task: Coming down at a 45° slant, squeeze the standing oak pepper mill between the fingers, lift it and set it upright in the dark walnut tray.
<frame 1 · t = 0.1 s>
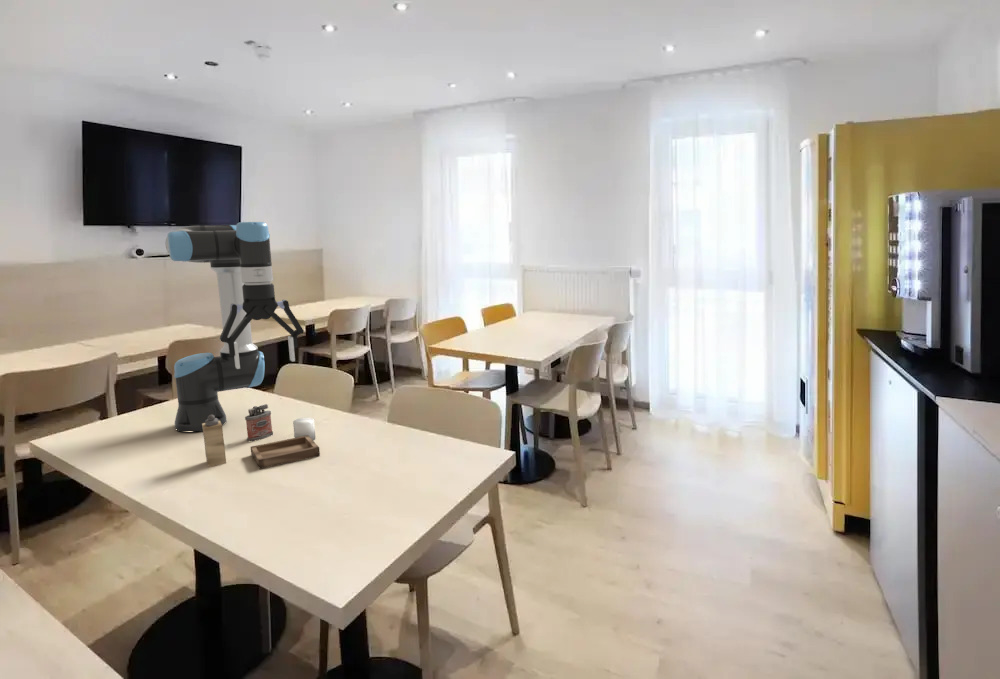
hand: (265, 364, 151), 28 cm above the table, tool pointing down, fingers open, 13 cm apart
pepper mill: (216, 462, 158), on the table
tray: (285, 455, 162), on the table
white pillar candle: (305, 439, 175), on the table
lighter: (260, 438, 177), on the table
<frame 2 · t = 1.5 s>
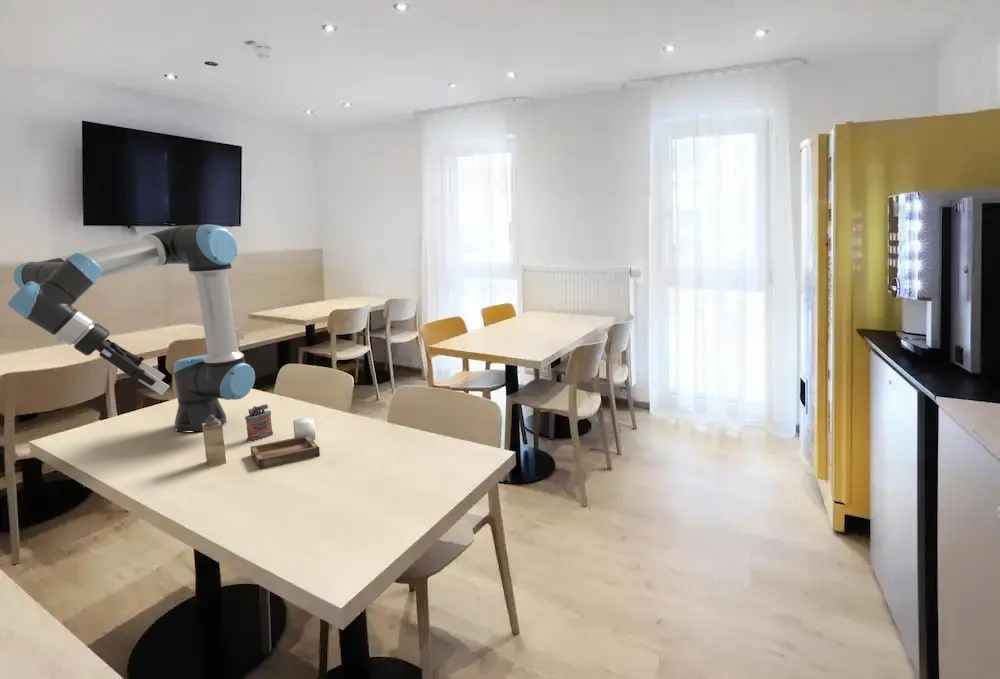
hand: (163, 385, 149), 24 cm above the table, tool tilted 45°, fingers open, 13 cm apart
nothing on the table moved.
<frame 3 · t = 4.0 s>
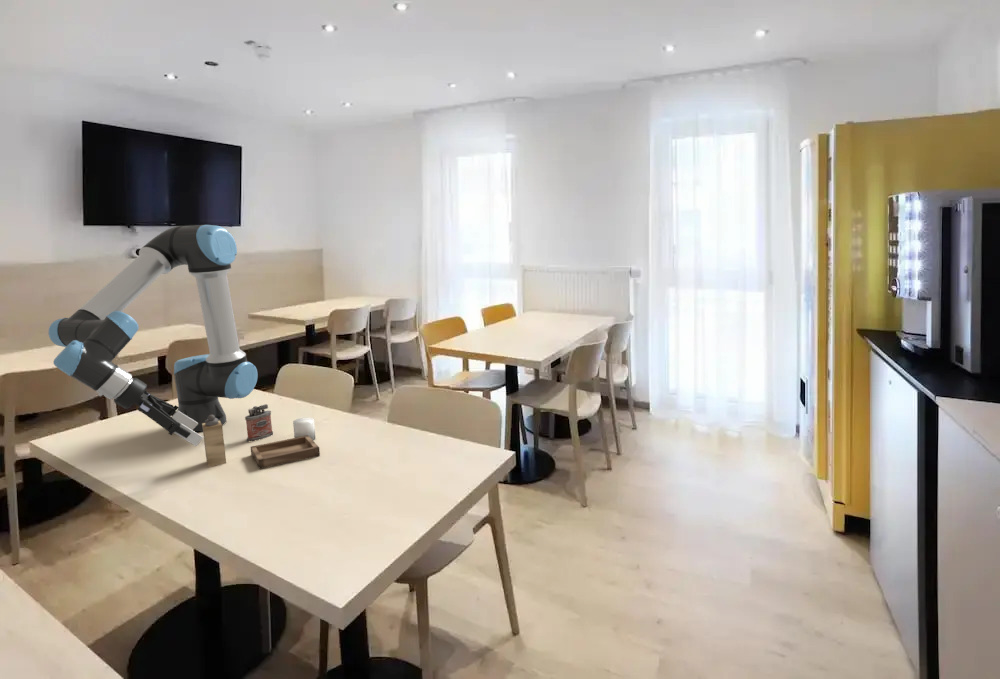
hand: (197, 434, 154), 9 cm above the table, tool tilted 45°, fingers open, 13 cm apart
nothing on the table moved.
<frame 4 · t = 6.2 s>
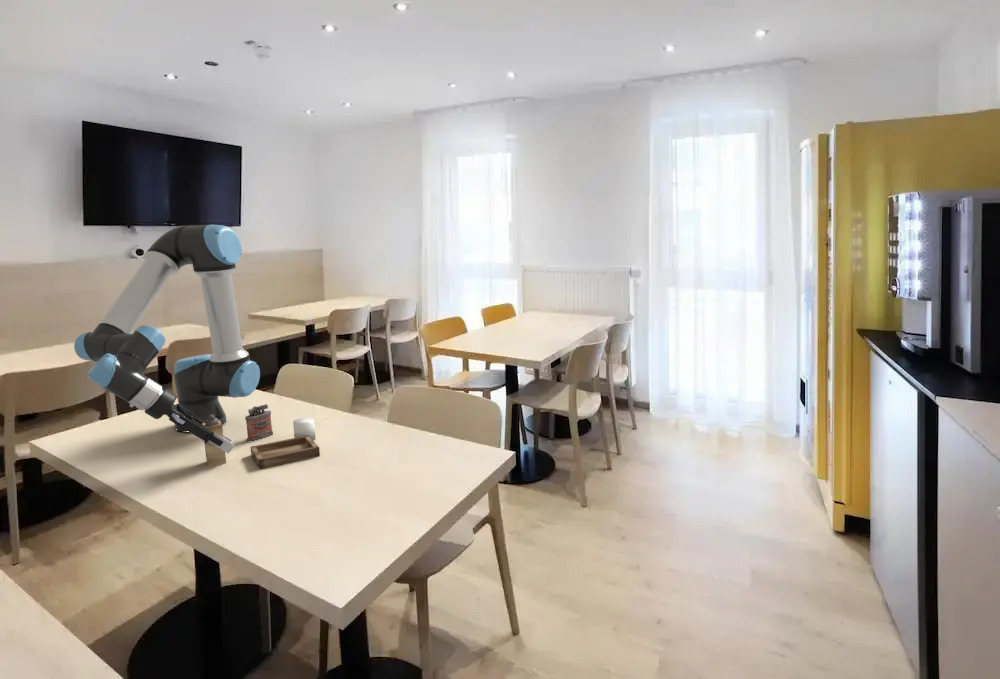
hand: (229, 446, 160), 4 cm above the table, tool tilted 45°, fingers closed on pepper mill, 4 cm apart
pepper mill: (216, 462, 158), on the table, touching gripper
everything else where it was.
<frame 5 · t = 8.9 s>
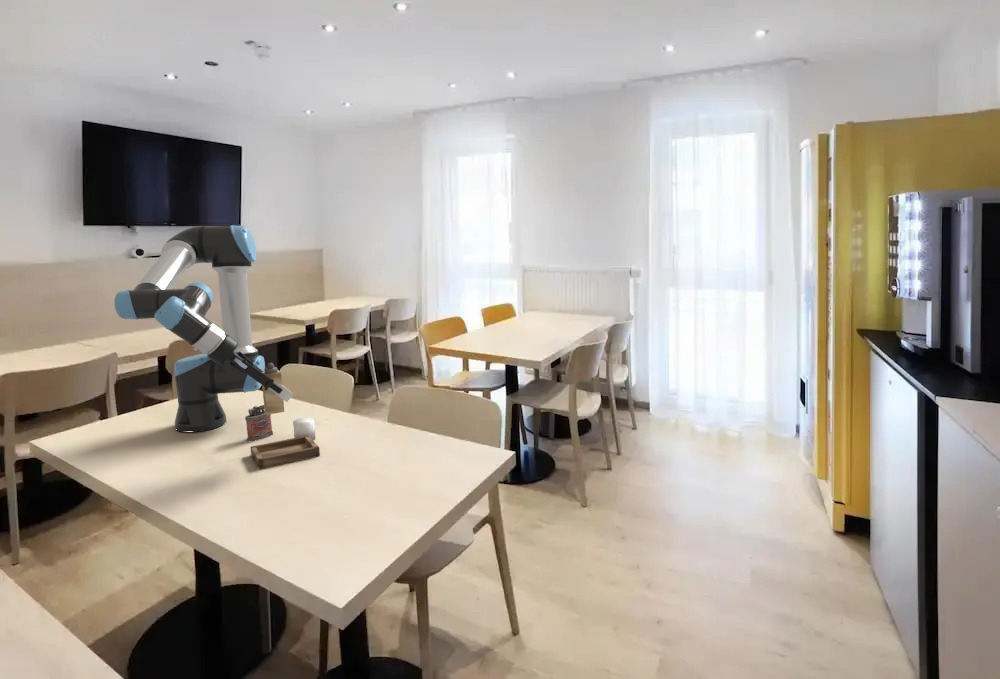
hand: (287, 395, 160), 17 cm above the table, tool tilted 45°, fingers closed on pepper mill, 4 cm apart
pepper mill: (274, 411, 159), point 13 cm above the table, touching gripper
everything else where it was.
when the fingers open (6 cm above the table, at t = 11.4 s): pepper mill drops 2 cm, resting on tray.
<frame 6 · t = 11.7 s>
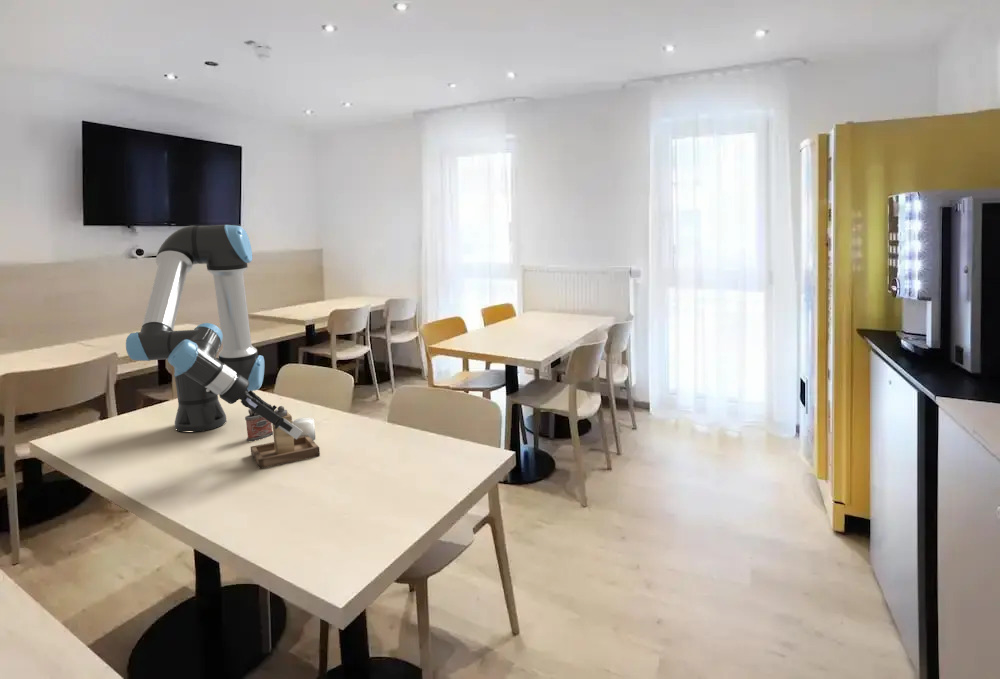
hand: (295, 430, 163), 7 cm above the table, tool tilted 45°, fingers open, 9 cm apart
pepper mill: (284, 452, 162), point 1 cm above the table, touching tray
everything else where it was.
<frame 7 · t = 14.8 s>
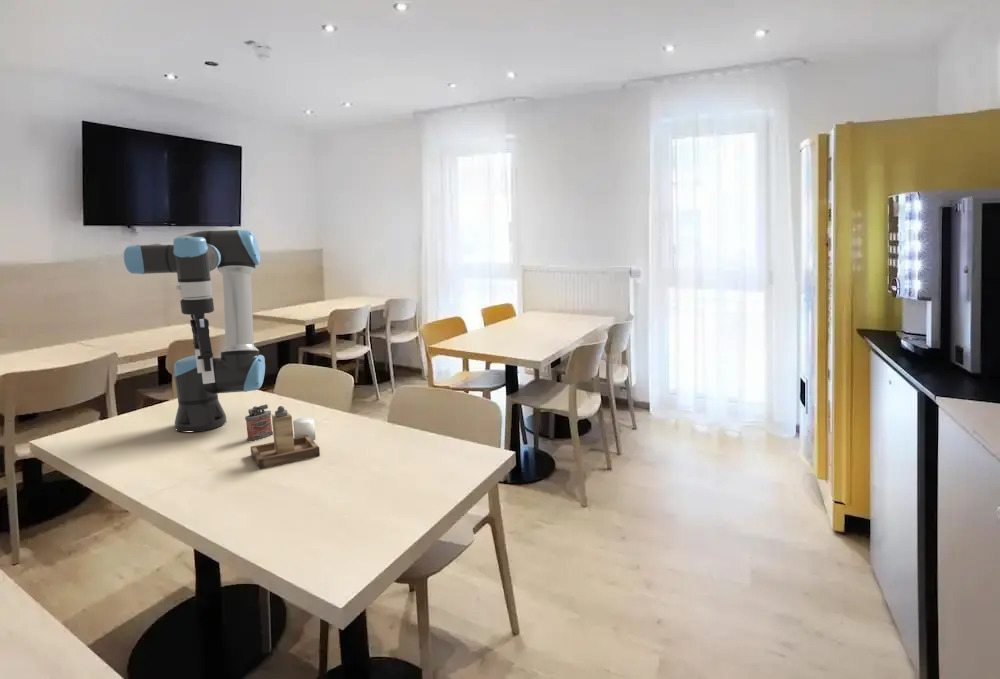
hand: (206, 377, 152), 24 cm above the table, tool pointing down, fingers open, 13 cm apart
nothing on the table moved.
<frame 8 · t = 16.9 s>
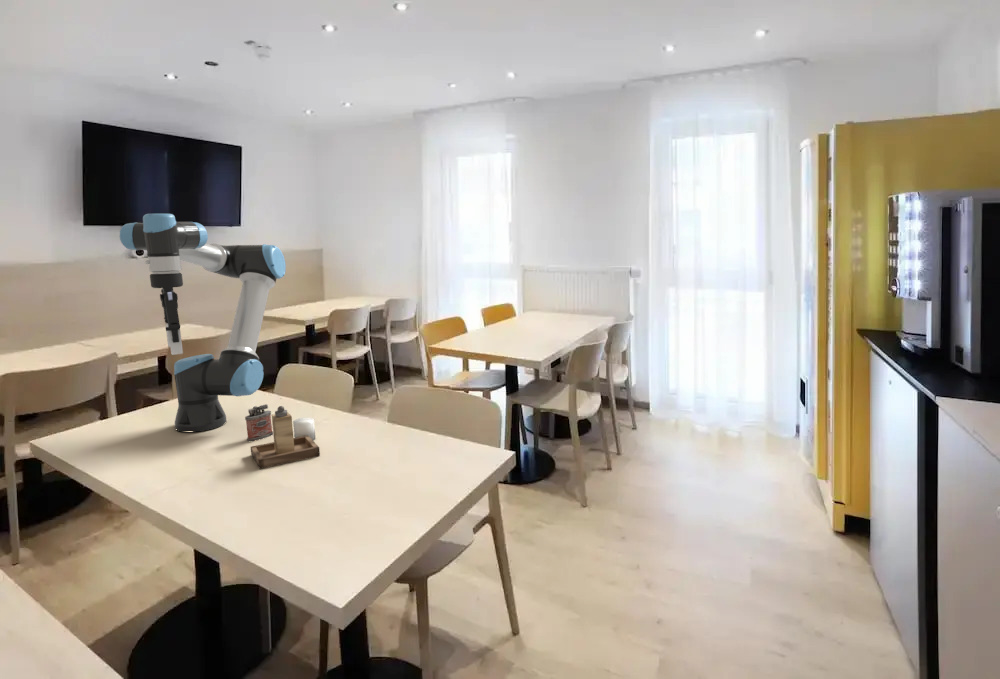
hand: (175, 350, 158), 31 cm above the table, tool pointing down, fingers open, 13 cm apart
nothing on the table moved.
at the end: pepper mill inside the target area on the tray (0.1 cm from its centre), point 0.8 cm above the tray's base; pepper mill tilted 0°; the gripper is holding nothing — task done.
